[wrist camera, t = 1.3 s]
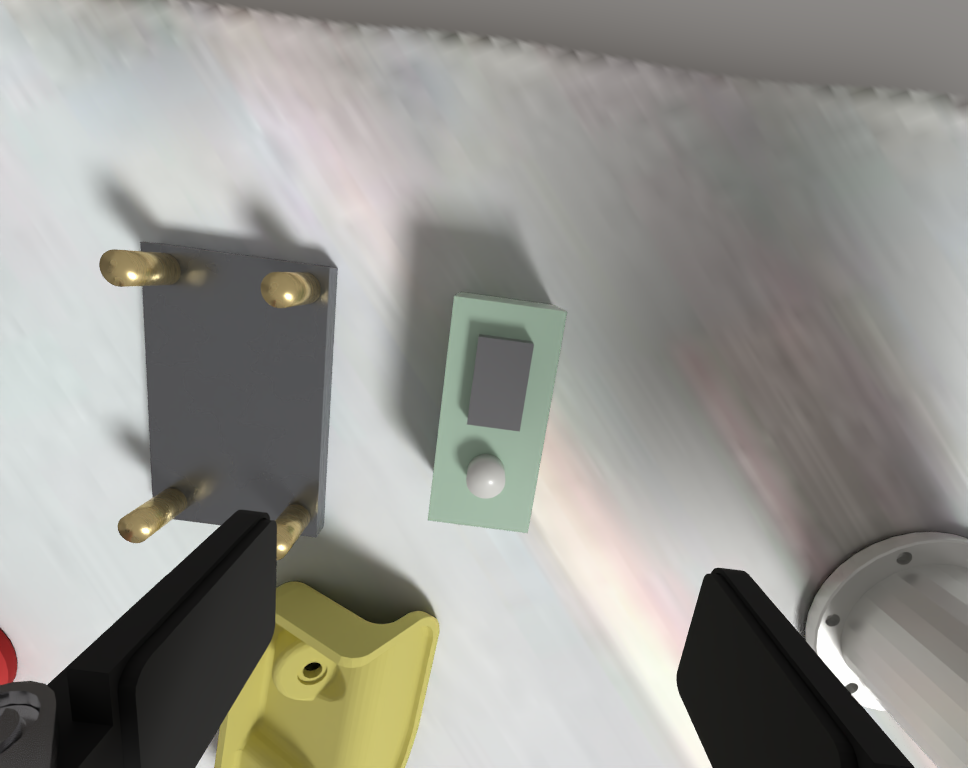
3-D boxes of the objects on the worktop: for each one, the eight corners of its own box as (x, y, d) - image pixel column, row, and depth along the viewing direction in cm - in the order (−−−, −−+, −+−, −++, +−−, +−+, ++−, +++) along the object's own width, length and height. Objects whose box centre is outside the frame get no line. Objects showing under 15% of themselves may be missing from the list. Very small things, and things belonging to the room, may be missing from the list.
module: (551, 304, 24) (571, 313, 19) (520, 486, 27) (529, 544, 21) (461, 291, 24) (452, 297, 18) (438, 475, 27) (425, 531, 21)
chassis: (337, 268, 24) (305, 266, 20) (323, 526, 28) (294, 569, 24) (157, 243, 24) (88, 236, 20) (167, 506, 27) (111, 546, 23)
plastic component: (238, 587, 26) (371, 676, 22) (331, 540, 33) (445, 602, 29) (202, 855, 29) (312, 975, 25) (293, 763, 36) (391, 846, 32)
